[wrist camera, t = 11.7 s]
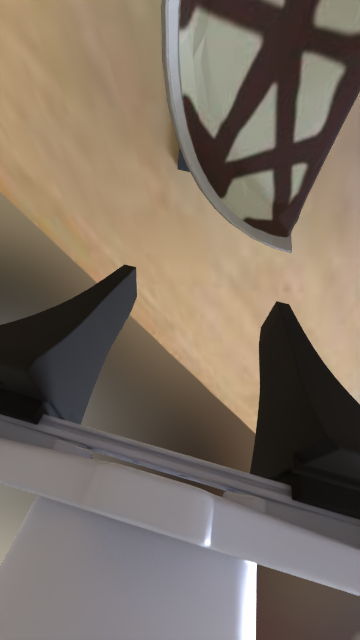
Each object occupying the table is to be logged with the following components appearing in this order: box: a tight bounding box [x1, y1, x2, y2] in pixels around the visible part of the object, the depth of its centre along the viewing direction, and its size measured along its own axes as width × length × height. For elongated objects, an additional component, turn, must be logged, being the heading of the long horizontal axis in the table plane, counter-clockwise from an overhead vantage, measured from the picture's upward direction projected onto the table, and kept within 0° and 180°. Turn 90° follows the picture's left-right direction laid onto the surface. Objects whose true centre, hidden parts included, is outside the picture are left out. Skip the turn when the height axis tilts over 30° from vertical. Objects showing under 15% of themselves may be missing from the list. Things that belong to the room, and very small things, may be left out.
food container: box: [161, 0, 360, 253], centre depth 9 cm, size 12×6×10 cm, turn 174°
